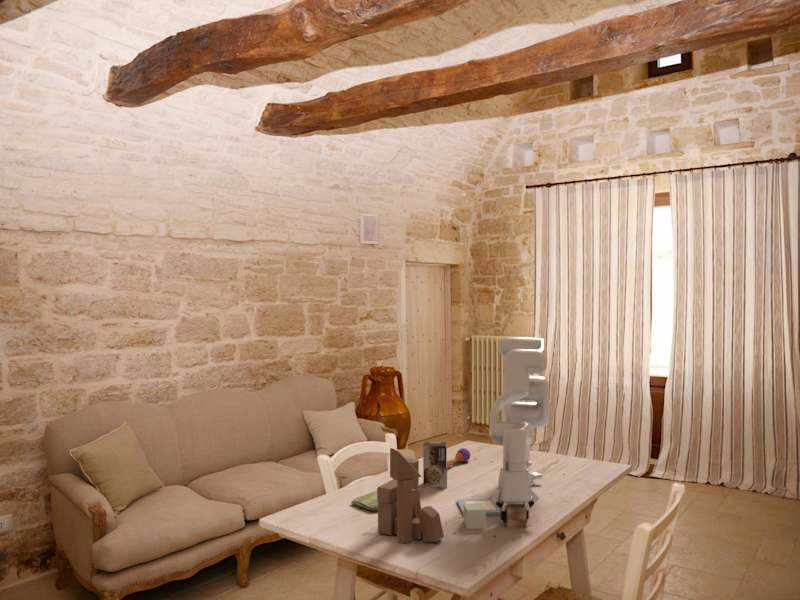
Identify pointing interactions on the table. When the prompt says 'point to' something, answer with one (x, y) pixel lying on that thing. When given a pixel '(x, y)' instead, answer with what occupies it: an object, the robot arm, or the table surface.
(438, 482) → the coffee box
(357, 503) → the washcloth
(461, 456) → the kendama
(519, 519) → the walnut block
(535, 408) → the robot arm
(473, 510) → the sage block
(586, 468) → the table surface
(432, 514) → the wooden blocks
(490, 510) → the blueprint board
